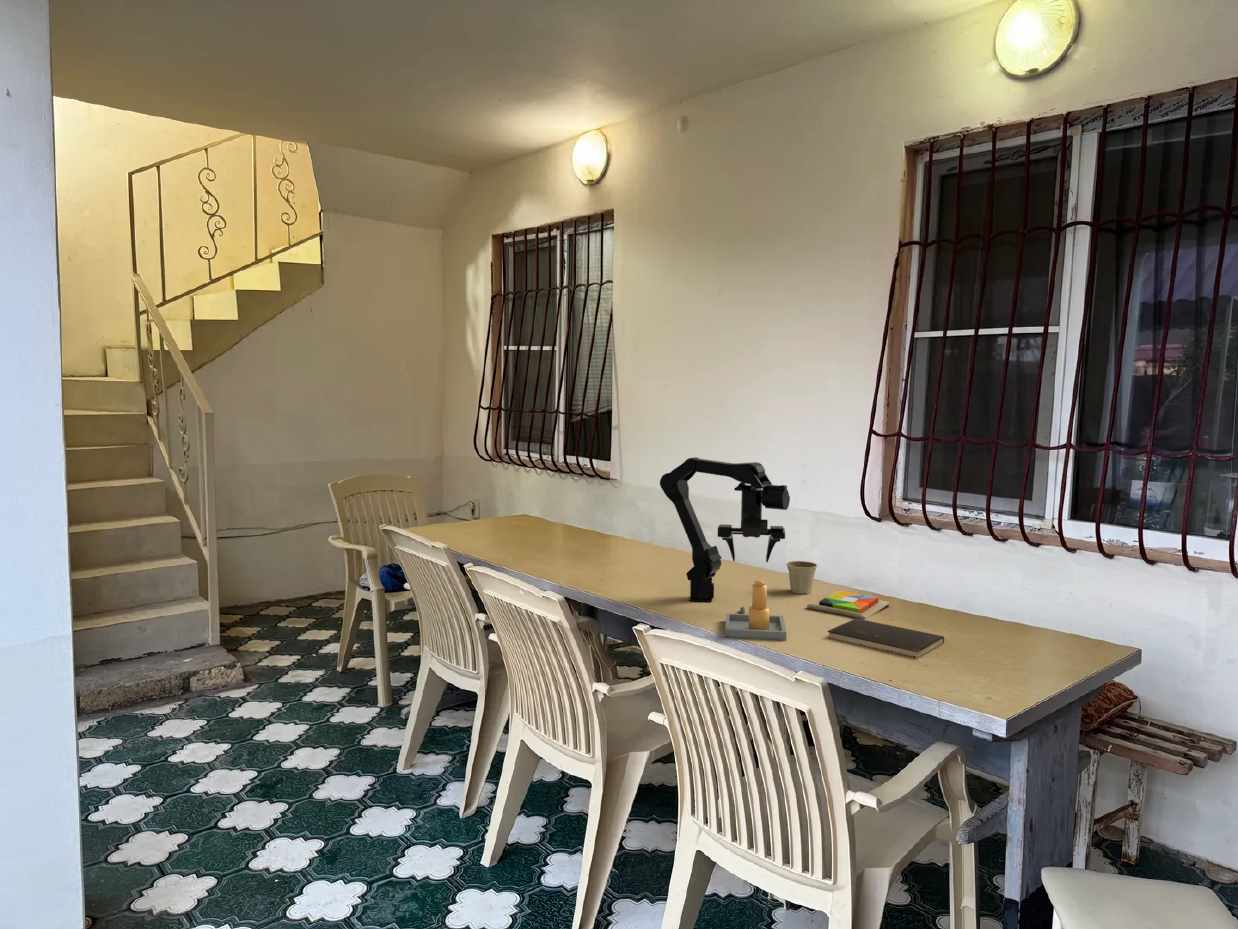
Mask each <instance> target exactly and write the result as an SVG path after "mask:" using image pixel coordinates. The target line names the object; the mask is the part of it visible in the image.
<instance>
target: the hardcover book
mask: <svg viewBox="0 0 1238 929" xmlns="http://www.w3.org/2000/svg"><path fill="white" fill-rule="evenodd" d="M827 633H829V635H828V638H830V639H834V638H836V639H835V640H838V639H840V640H839V641H843V640H844V641H843V642H847V641H848V642H849V643H851V642H852V644H857V645H860V644H863V645H862V646H864V645H866V646H865V647H869V646H871V647H870V648H873V647H875V648H874V649H878V650H882V649H883V650H882V651H886V650H889V651H888V652H891V651H893V652H892V653H895V652H897V653H896V654H899V653H901V655H904V654H905V656H908V655H909V657H913V656H915V657H914V658H917V657H918V658H919V657H921V656H922V655H923V656H924V655H925V654H926V653H928V652H929V651H931V650H933V649H935V648H937V647H938V646H940V645H942V644H944V643H945V636H944V635H940V634H934V633H929V632H925V631H920V630H915V629H909V628H906V627H900V626H896V625H890V624H885V623H880V622H876V621H870V620H868V619H861V618H853V619H852V620H849V621H847V622H845V623H842V624H840V625H837V626H836V627H834V628H832V629H831V628H830V629H829V630H827ZM848 642H847V643H848Z"/></svg>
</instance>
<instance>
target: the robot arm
mask: <svg viewBox="0 0 1238 929" xmlns="http://www.w3.org/2000/svg"><path fill="white" fill-rule="evenodd" d="M696 473H703V474H709V475H716V476H722V477H728V478H731V479H733V480H734V481H737V482H739V484H738V485H737V486H735V487H734V491H737V492H741V503H740V504H741V505H740V506H741V507H740V508H741V510H740V511H741V512H740V527H732V526H733V525H732V524H718V526H717V538H721V539H722V540H723V541H725V542H726V543H727V546H728V548H729V551H730V555H731V558H732V562H735V560H736V554H735V552H736V551H735V545H734V537H733V536H734V535H742V537H744V538H751V537H752V538H756V539H758V538H760V537H761V536H768V541H767V547H766V554H765V562H766V563H768V562H769V560H770V557H771V554H772V551H773V549H774V547H775V545H776V543H779V542H781V540H782V539H783V540H785V539H786V529H785V528H784V526H783V525H782V526H781V525H770V527H769V528H768V525H769V524H768V521H769V520H768V519H762V516H763V514H762V512H763V511H762V510H763V506H764V508H765V509H769V510H781V511H782V510H783V511H787V510H788V509H789V506H790V499H791V496H790V493H789V489H788V485H786V484H782V485H781V484H779V485H778V484H776V485H775V484H773V483H772V482H771V480H770V478H769V477H768V475H767V474H766V469H765V467H764V466H763V464H762V463H760V462H758V461H757V462H756V461H755V462H754V461H751V462H739V463H738V462H737V463H732V462H726V461H719V460H714V459H713V460H711V459H705V458H704V459H703V458H699V457H695V456H694V457H689V458H686V460H684V461H683V462H682V463H681V464H680V465H678V466H677V467H675V468H674V469H672V470H671V471H670V472H666V473H664V474H663V475H662V476H661V478H660V480H659V485H660V488H661V490H662V491H663V493H664V495H665V497H667V498H668V500H669V501H670V502H672V504H673V505H674V507H675V508H674V509H675V510H676V514H677V515H678V517H679V520H680V522H681V524H682V527H683V530H684V531H685V534H686V537H687V539H688V541H689V543H690V547H691V549H692V550H691V551H692V552H691V554H692V555H691V559H692V564H693V567H691V568H690V569H689V570H688V571H687V572H686V573H685V574H686V578H687V580H688V581H690V584H689V585H690V587H689V588H690V589H689V590H690V592H689V594H690V596H689V601H690V602H706V603H707V602H708V603H709V602H711V603H712V602H713V599H715V598H714V597H715V582H713V577H715V576H716V573H717V572H718V571H720V568H721V566H722V560H721V559H722V555H720V553H719V548H718V547H717V545H714V546H711V544H710V543H708V541H707V539H706V536H705V534H704V532H703V529H702V527H701V524H700V522H699V520H698V516H697V514H696V513H695V509H694V508H693V505H692V502H691V500H690V495H689V494H690V491H689V490H690V487H689V483H688V482H689V481H690V480H691V479H692V478H693V477H694V476H695V474H696ZM722 540H721V541H722Z"/></svg>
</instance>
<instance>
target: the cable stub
mask: <svg viewBox="0 0 1238 929" xmlns="http://www.w3.org/2000/svg"><path fill="white" fill-rule="evenodd" d="M739 612H740V613H739V614H746V610H745V607H743V606H741V607H740V611H739Z"/></svg>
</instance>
